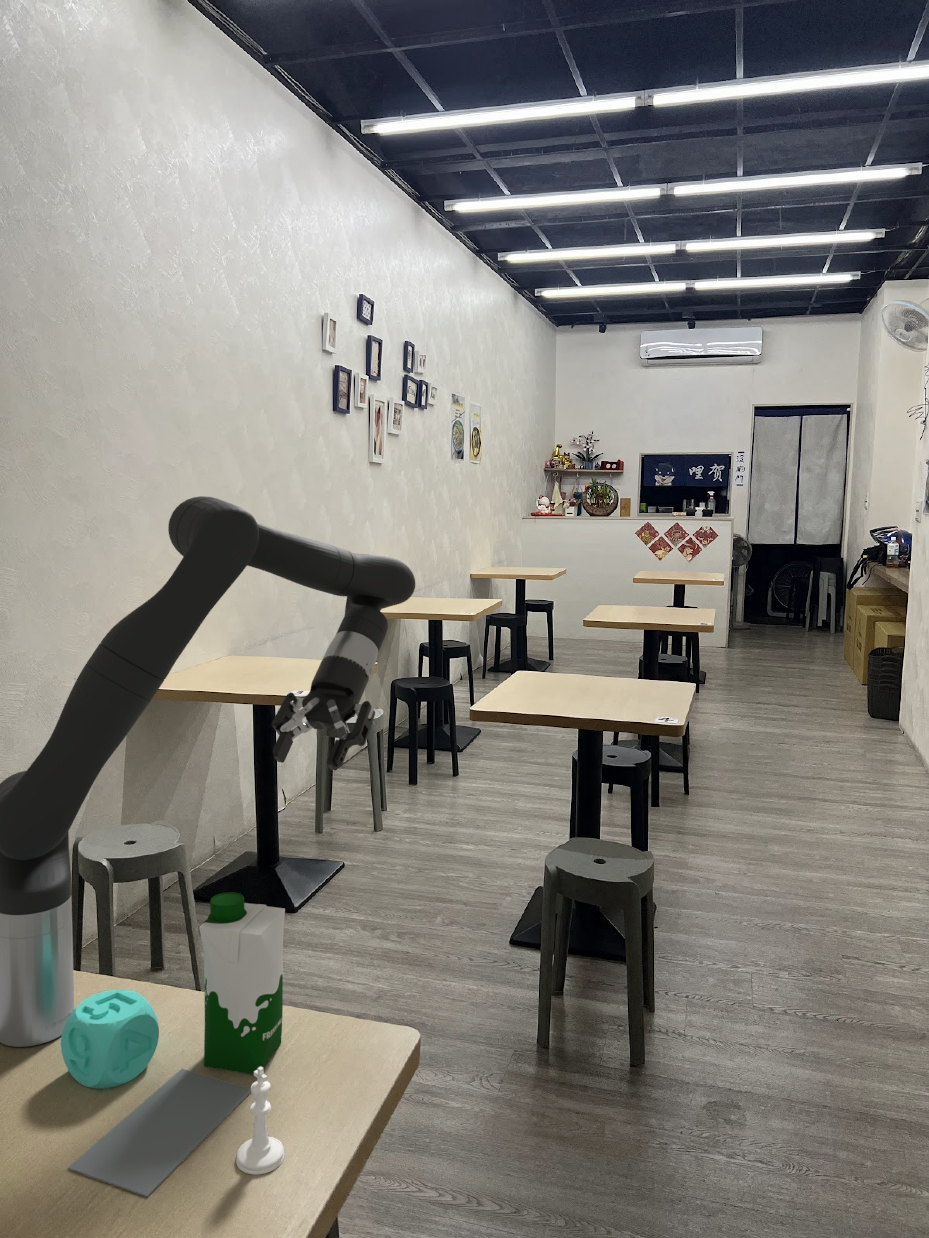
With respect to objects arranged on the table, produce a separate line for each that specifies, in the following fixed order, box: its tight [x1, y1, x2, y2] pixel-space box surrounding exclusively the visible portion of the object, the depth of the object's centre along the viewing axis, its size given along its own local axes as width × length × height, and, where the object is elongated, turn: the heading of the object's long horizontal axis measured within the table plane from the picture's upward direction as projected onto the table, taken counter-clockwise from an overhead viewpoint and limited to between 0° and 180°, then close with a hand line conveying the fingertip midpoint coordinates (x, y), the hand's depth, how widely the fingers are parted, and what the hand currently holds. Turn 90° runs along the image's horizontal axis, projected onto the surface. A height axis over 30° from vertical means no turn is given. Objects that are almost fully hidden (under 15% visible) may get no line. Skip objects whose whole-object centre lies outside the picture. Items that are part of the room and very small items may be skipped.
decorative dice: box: [60, 989, 160, 1090], centre depth 108 cm, size 8×8×8 cm
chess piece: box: [235, 1067, 285, 1176], centre depth 94 cm, size 5×5×10 cm
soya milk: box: [199, 891, 286, 1076], centre depth 111 cm, size 9×9×20 cm
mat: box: [67, 1068, 252, 1198], centre depth 98 cm, size 10×18×1 cm, turn 159°
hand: (304, 763), depth 124 cm, fingers open, 8 cm apart
